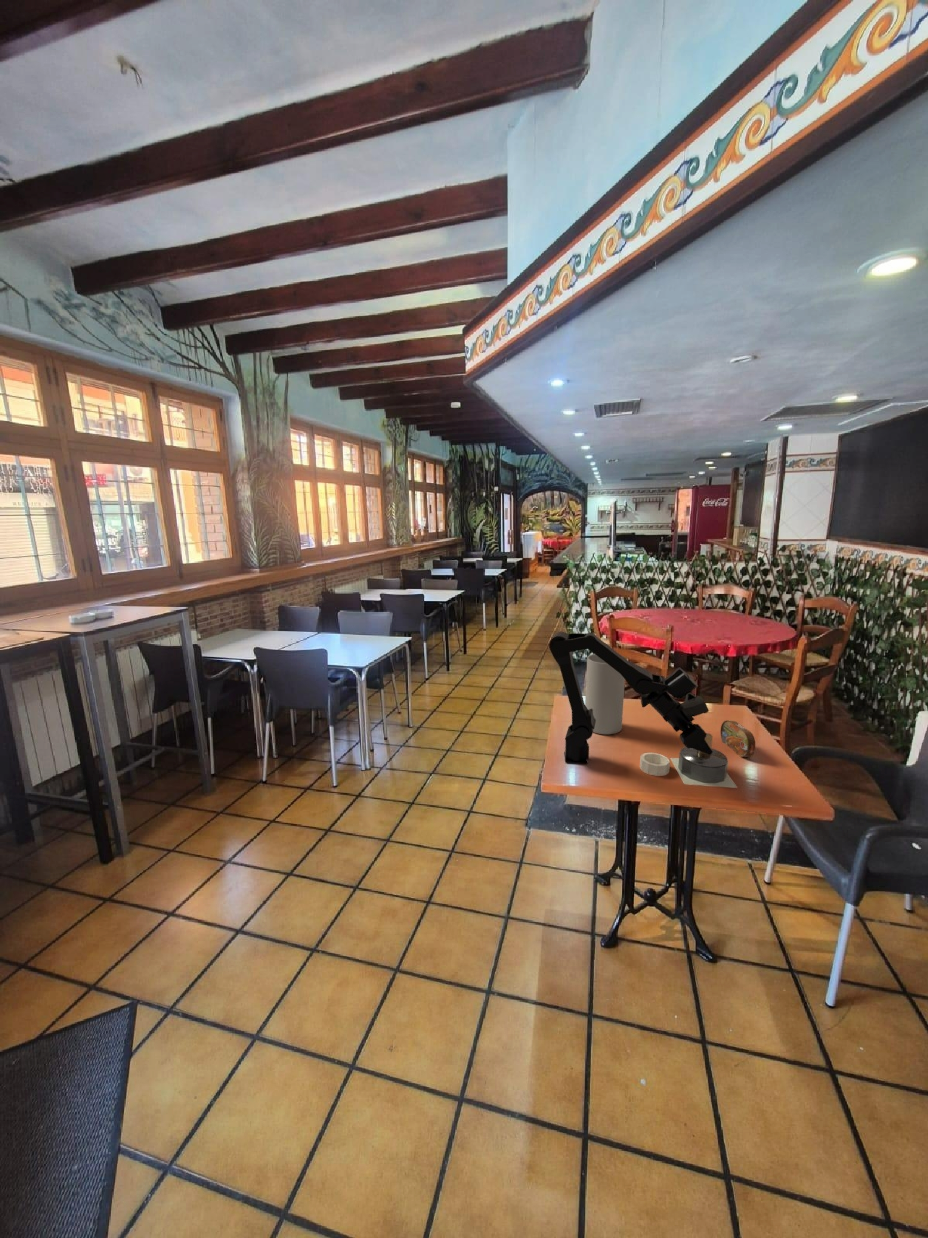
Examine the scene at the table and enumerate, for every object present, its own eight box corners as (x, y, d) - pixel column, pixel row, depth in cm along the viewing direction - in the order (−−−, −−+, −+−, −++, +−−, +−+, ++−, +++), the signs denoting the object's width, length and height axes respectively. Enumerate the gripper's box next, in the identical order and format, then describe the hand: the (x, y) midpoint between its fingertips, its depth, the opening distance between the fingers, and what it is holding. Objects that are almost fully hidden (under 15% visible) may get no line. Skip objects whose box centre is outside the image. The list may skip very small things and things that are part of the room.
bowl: (643, 776, 139) (644, 765, 138) (637, 762, 146) (638, 751, 146) (671, 778, 138) (672, 766, 137) (664, 764, 145) (665, 753, 144)
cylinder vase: (617, 721, 176) (621, 653, 171) (625, 736, 164) (629, 664, 159) (582, 719, 177) (585, 653, 172) (587, 734, 165) (590, 663, 160)
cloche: (685, 781, 135) (689, 743, 133) (674, 760, 147) (677, 725, 144) (732, 784, 133) (736, 746, 131) (716, 763, 145) (720, 727, 143)
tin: (718, 740, 161) (721, 715, 159) (728, 739, 161) (730, 715, 159) (744, 762, 146) (748, 736, 144) (755, 762, 146) (758, 736, 144)
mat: (684, 785, 134) (684, 784, 134) (669, 759, 148) (670, 757, 148) (737, 789, 132) (737, 787, 132) (717, 762, 146) (717, 760, 146)
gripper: (701, 700, 127) (742, 742, 127) (680, 677, 145) (717, 714, 145) (667, 728, 129) (707, 768, 130) (651, 702, 147) (687, 738, 148)
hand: (705, 745), depth 138 cm, fingers open, 9 cm apart
